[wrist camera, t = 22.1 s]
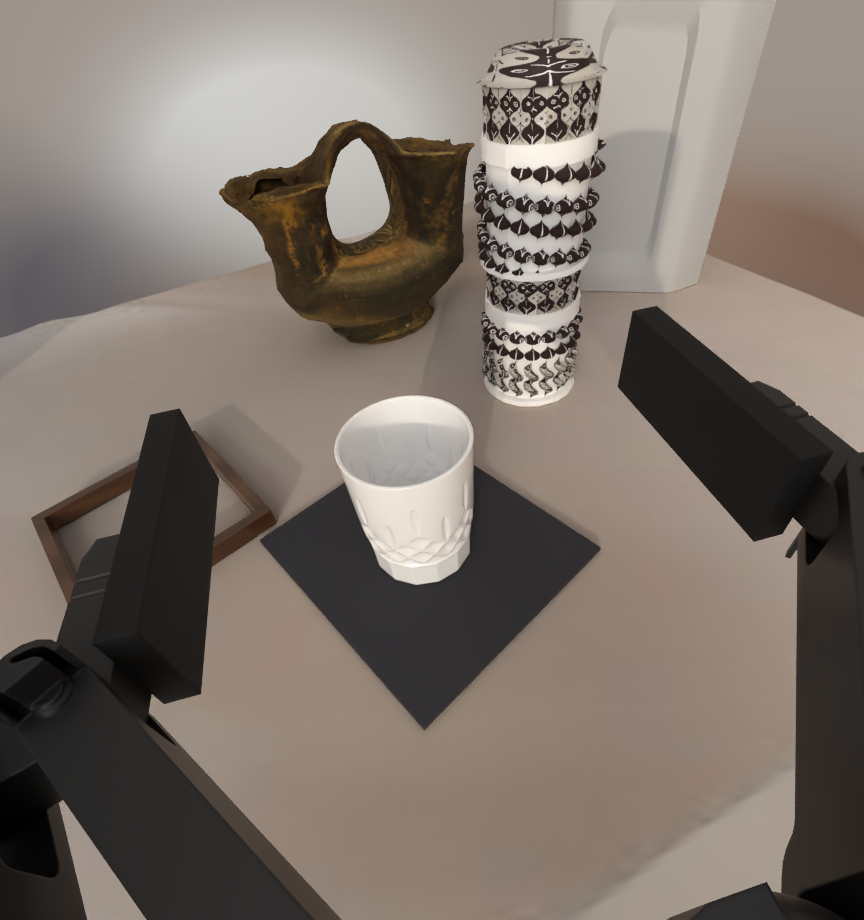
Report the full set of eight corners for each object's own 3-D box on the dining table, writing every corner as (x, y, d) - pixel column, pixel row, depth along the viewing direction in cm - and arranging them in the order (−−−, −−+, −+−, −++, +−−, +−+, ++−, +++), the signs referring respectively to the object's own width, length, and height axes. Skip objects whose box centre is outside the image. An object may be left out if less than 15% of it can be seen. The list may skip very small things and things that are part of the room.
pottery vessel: (299, 385, 52) (225, 167, 38) (264, 341, 59) (192, 144, 45) (497, 303, 60) (495, 99, 46) (446, 274, 67) (431, 89, 53)
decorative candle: (596, 370, 49) (648, 29, 31) (544, 422, 44) (571, 56, 27) (515, 343, 53) (521, 34, 36) (461, 388, 49) (438, 57, 31)
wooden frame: (43, 530, 41) (30, 517, 40) (201, 443, 47) (194, 430, 45) (94, 645, 33) (80, 633, 32) (277, 523, 39) (270, 509, 38)
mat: (260, 542, 38) (259, 540, 37) (421, 433, 45) (421, 430, 44) (424, 730, 27) (423, 728, 27) (600, 550, 34) (600, 547, 34)
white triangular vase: (505, 258, 68) (505, -30, 49) (597, 231, 72) (632, -49, 52) (593, 318, 55) (643, -42, 36) (701, 282, 59) (799, -66, 39)
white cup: (498, 569, 34) (496, 461, 27) (383, 611, 32) (350, 508, 25) (455, 488, 39) (444, 381, 32) (355, 521, 38) (322, 416, 31)
